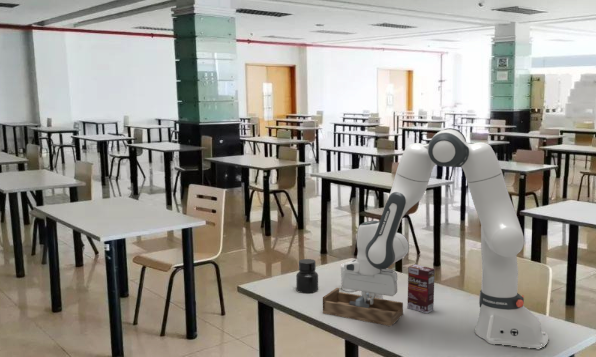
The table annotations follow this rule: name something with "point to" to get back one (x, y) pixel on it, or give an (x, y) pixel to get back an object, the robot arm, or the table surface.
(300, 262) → the ink bottle
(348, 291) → the white cup
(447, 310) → the table surface
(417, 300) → the supplement box
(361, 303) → the pusher
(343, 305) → the wooden tray
